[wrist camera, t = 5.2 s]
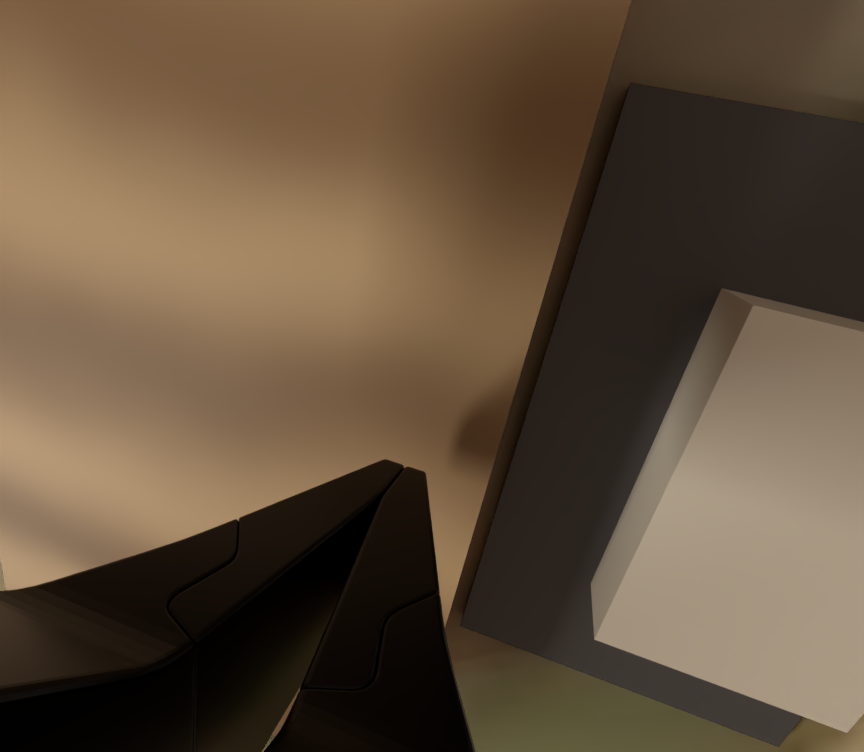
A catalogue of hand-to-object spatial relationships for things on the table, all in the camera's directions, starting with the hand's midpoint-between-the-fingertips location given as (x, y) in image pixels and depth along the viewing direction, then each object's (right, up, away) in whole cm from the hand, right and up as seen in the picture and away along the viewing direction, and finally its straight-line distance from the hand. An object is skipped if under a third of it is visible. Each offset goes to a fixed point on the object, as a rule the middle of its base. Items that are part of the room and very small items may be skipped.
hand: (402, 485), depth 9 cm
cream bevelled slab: (+8, -2, +1) cm, 9 cm away
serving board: (-4, +3, +5) cm, 7 cm away
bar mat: (+8, 0, +3) cm, 9 cm away
